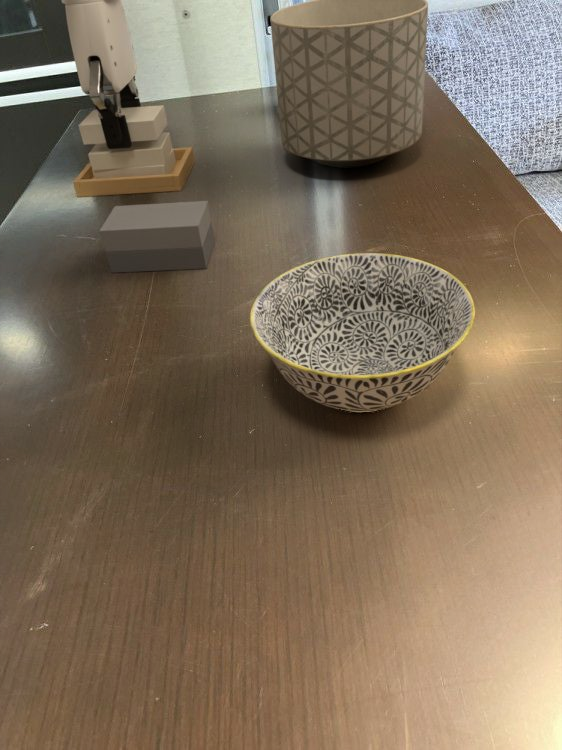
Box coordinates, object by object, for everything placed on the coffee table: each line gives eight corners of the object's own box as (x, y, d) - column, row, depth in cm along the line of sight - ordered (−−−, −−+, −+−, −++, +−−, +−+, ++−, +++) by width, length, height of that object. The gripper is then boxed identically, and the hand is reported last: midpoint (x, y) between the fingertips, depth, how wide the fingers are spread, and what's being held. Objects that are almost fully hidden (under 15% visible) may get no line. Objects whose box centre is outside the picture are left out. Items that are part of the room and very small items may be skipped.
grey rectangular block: (111, 273, 67) (98, 230, 64) (126, 246, 72) (114, 205, 69) (206, 268, 66) (198, 225, 63) (215, 242, 71) (207, 200, 68)
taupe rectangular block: (94, 186, 86) (85, 154, 83) (109, 167, 91) (100, 136, 88) (167, 182, 84) (160, 149, 82) (177, 162, 90) (171, 131, 87)
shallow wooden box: (76, 197, 85) (72, 182, 84) (99, 167, 93) (95, 153, 92) (181, 190, 83) (178, 175, 82) (195, 161, 91) (192, 146, 90)
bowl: (223, 380, 51) (208, 303, 47) (366, 305, 58) (366, 231, 53) (352, 495, 41) (349, 411, 36) (509, 388, 47) (524, 305, 43)
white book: (83, 144, 82) (78, 125, 81) (98, 128, 87) (93, 109, 86) (157, 140, 81) (153, 120, 80) (167, 123, 86) (164, 105, 85)
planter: (405, 188, 77) (411, 23, 66) (263, 180, 83) (246, 28, 72) (431, 135, 91) (440, -10, 79) (307, 131, 97) (299, -3, 85)
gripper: (83, -24, 80) (118, 119, 92) (32, -1, 67) (80, 163, 78) (139, -29, 79) (167, 116, 91) (99, -7, 66) (138, 160, 77)
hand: (127, 137), depth 84 cm, fingers closed on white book, 6 cm apart
